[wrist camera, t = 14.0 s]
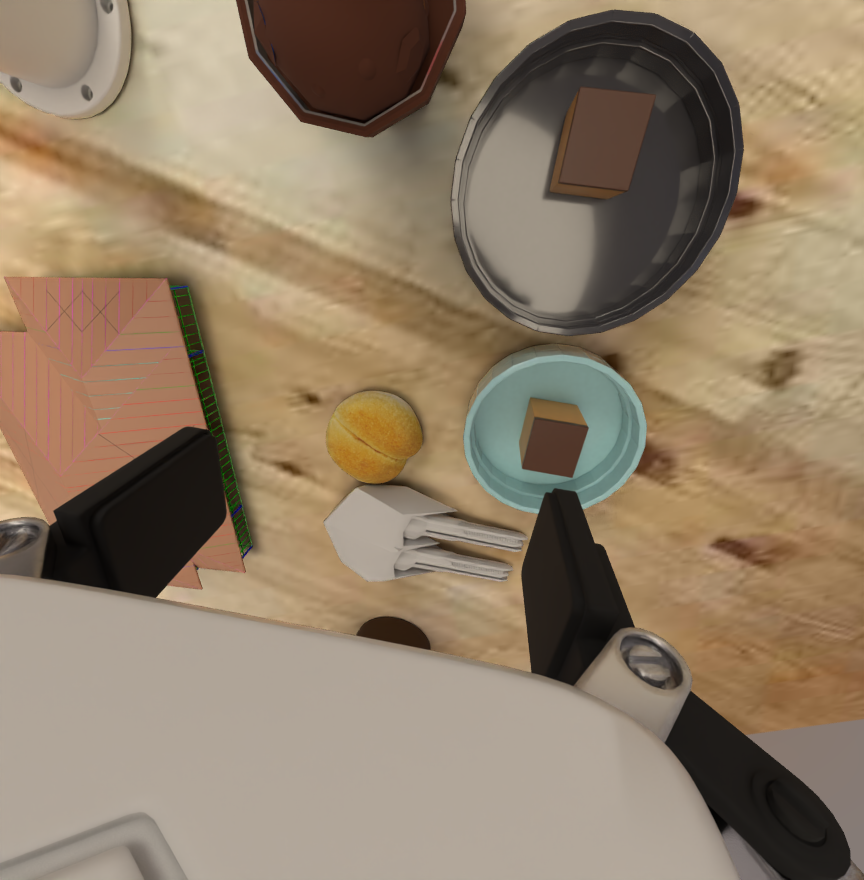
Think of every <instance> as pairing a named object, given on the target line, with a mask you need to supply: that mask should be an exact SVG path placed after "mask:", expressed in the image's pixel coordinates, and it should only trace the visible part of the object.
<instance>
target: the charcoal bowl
mask: <svg viewBox="0 0 864 880" xmlns="http://www.w3.org/2000/svg"><path fill="white" fill-rule="evenodd" d="M580 87H590V88H600V89H609V90H618V91H628V92H637V93H646V94H655V95H656V98H655V102H654V105H653V108H652V112H651V115H650V119H649V122H648V125H647V129H646V132H645V136H644V139H643V143H642V146H641V149H640V153H639V156H638V160H637V163H636V167H635V170H634V173H633V177H632V180H631V184H630V187H629V190H628V191H627V192H624V193H621V194H619V195H617V196H614V197H612V198H609V199H601V198H593V197H585V196H577V195H569V194H561V193H553V192H550V186H551V181H552V177H553V172H554V168H555V163H556V158H557V154H558V149H559V144H560V140H561V135H562V131H563V126H564V121H565V117H566V113H567V111H568V109H569V107H570V105H571V104H572V102H573V100H574V98H575V96H576V94H577V92H578V90H579V88H580ZM743 148H744V145H743V135H742V125H741V116H740V106H739V102H738V100H737V97H736V95H735V92H734V90H733V88H732V85H731V83H730V81H729V78H728V76H727V73H726V71H725V69H724V66H723V64H722V62H721V61H720V60H719V59H718V58H717V57H716V56H715V55H714V54H713V52H712V51H711V50H710V49H709V48H708V47H707V46H706V45H705V44H704V43H703V41H702V40H701V39H700V38H699V37H698V36H697V35H696V34H695V33H693V32H692V31H690V30H688V29H686V28H684V27H682V26H680V25H678V24H676V23H674V22H672V21H670V20H668V19H666V18H664V17H662V16H660V15H658V14H655V13H645V12H634V11H624V10H609V11H605V12H601V13H597V14H593V15H589V16H585V17H581V18H577V19H573V20H570V21H567V22H565V23H564V24H562V25H560V26H559V27H557V28H555V29H553V30H552V31H550V32H548V33H547V34H545V35H543V36H542V37H540V38H538V39H536V40H535V41H533V42H531V43H530V44H529V45H527V46H526V47H525V48H524V49H523V50H522V51H521V52H520V53H519V54H518V55H517V56H516V57H515V58H514V59H513V60H512V61H511V62H510V63H509V64H508V65H507V66H506V67H505V68H504V69H503V70H502V71H501V72H500V73H499V74H498V75H497V76H496V78H495V79H494V80H493V82H492V83H491V85H490V86H489V88H488V90H487V91H486V93H485V94H484V96H483V98H482V99H481V101H480V102H479V104H478V106H477V107H476V109H475V110H474V112H473V114H472V115H471V118H470V120H469V122H468V125H467V128H466V131H465V134H464V136H463V139H462V142H461V145H460V148H459V151H458V153H457V156H456V160H455V167H454V175H453V184H452V192H451V210H452V220H453V230H454V238H455V241H456V244H457V247H458V250H459V253H460V255H461V258H462V261H463V264H464V267H465V269H466V271H467V273H468V275H469V276H470V278H471V279H472V281H473V282H474V283H475V285H476V286H477V288H478V289H479V291H480V292H481V294H482V295H483V297H484V298H485V299H486V300H487V301H488V302H489V303H491V304H492V305H493V306H494V307H495V308H497V309H498V310H499V311H500V312H501V313H503V314H504V315H505V316H506V317H507V318H509V319H511V320H513V321H515V322H517V323H519V324H522V325H524V326H526V327H528V328H531V329H533V330H535V331H538V332H544V333H551V334H558V335H564V336H574V335H583V334H593V333H601V332H604V331H607V330H610V329H613V328H616V327H618V326H621V325H624V324H627V323H630V322H632V321H635V320H636V319H638V318H640V317H641V316H643V315H644V314H646V313H647V312H649V311H651V310H652V309H654V308H655V307H657V306H659V305H660V304H662V303H663V302H665V301H666V300H667V299H669V298H670V297H671V296H672V295H673V294H674V293H675V292H676V291H677V290H678V289H679V288H680V287H681V286H682V285H683V284H684V283H685V282H686V281H687V280H688V279H689V278H690V277H691V276H692V275H693V274H694V273H695V272H696V271H697V270H698V268H699V267H700V265H701V264H702V262H703V261H704V259H705V258H706V256H707V255H708V253H709V252H710V250H711V249H712V247H713V246H714V244H715V243H716V241H717V240H718V238H719V237H720V235H721V233H722V230H723V228H724V225H725V222H726V220H727V217H728V215H729V212H730V210H731V207H732V205H733V202H734V200H735V197H736V195H737V194H736V193H737V190H738V184H739V177H740V171H741V164H742V158H743V151H744V149H743Z"/></svg>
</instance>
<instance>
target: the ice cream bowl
mask: <svg viewBox="0 0 864 880" xmlns="http://www.w3.org/2000/svg"><path fill="white" fill-rule="evenodd" d="M236 2H237V7H238V11H239V16H240V20H241V25H242V29H243V34H244V38H245V43H246V47H247V52H248V56H249V59H250V60H251V61H252V62H253V64H254V65H255V66H256V67H257V69H258V70H259V71H260V72H261V74H262V75H263V76H264V77H265V78H266V80H267V81H268V82H269V83H270V85H271V86H272V87H273V88H274V89H275V91H276V92H277V93H278V94H279V96H280V97H281V98H282V99H283V100H284V102H285V103H286V104H287V105H288V107H289V108H290V109H291V110H292V111H293V113H294V114H295V115H296V116H297V118H298V119H299V120H300V121H301V122H304V123H308V124H313V125H317V126H321V127H325V128H329V129H334V130H338V131H342V132H346V133H351V134H355V135H359V136H363V137H374V136H376V135H377V134H379V133H381V132H382V131H384V130H386V129H387V128H389V127H391V126H392V125H394V124H396V123H397V122H399V121H400V120H402V119H404V118H405V117H407V116H409V115H410V114H412V113H414V112H415V111H417V110H419V109H420V108H422V107H423V106H425V105H427V104H428V103H429V101H430V99H431V96H432V94H433V92H434V90H435V87H436V85H437V83H438V81H439V78H440V76H441V74H442V72H443V69H444V67H445V65H446V63H447V60H448V58H449V56H450V54H451V51H452V49H453V47H454V45H455V42H456V40H457V38H458V36H459V33H460V31H461V29H462V26H463V23H464V19H465V15H466V1H465V0H236Z"/></svg>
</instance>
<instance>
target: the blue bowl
mask: <svg viewBox="0 0 864 880" xmlns="http://www.w3.org/2000/svg"><path fill="white" fill-rule="evenodd" d="M530 397H531V398H537V399H543V400H549V401H555V402H562V403H568V404H574V405H577V406H578V408H579V410H580V412H581V413H582V415H583V417H584V419H585V421H586V423H587V426H588V427H589V429H588V432H587V435H586V438H585V441H584V445H583V448H582V451H581V454H580V457H579V460H578V463H577V466H576V469H575V472H574V475H573V478H569V477H564V476H558V475H552V474H547V473H541V472H536V471H530V470H524V469H522V465H521V457H520V448H519V440H520V436H521V432H522V428H523V424H524V420H525V416H526V412H527V408H528V404H529V399H530ZM646 430H647V424H646V419H645V415H644V411H643V406H642V403H641V401H640V400H639V398H638V397H637V395H636V393H635V392H634V390H633V388H632V387H631V385H630V384H629V383H628V382H627V381H626V380H625V379H624V378H623V377H622V376H621V375H620V373H619V372H618V371H617V370H616V369H614V368H613V367H612V366H611V365H610V364H609V363H608V362H606V361H605V360H604V359H603V358H602V357H600V356H599V355H596V354H594V353H592V352H590V351H587V350H585V349H583V348H581V347H576V346H570V345H563V344H547V345H537V346H532V347H529V348H526V349H523V350H521V351H518V352H515V353H512V354H510V355H509V356H507V357H506V358H504V359H503V360H501V361H500V362H498V363H497V364H496V365H494V366H493V367H492V368H491V369H490V370H489V371H488V372H487V373H486V375H485V376H484V377H483V378H482V379H481V380H480V382H479V383H478V385H477V387H476V389H475V391H474V393H473V395H472V397H471V399H470V401H469V406H468V412H467V418H466V424H465V429H464V435H463V440H464V449H465V457H466V459H467V462H468V464H469V467H470V469H471V471H472V474H473V475H474V477H475V478H476V479H477V480H478V482H479V483H480V484H481V485H482V487H483V488H484V489H485V490H486V491H487V492H488V493H490V494H491V495H492V496H494V497H495V498H496V499H498V500H499V501H500V502H502V503H504V504H506V505H509V506H511V507H513V508H516V509H518V510H521V511H525V512H531V513H536V514H538V513H539V510H540V507H541V504H542V500H543V497H544V494H545V493H546V492H550V493H552V491H553V489H554V488H558V489H564V490H570V491H575V492H576V493H577V495H578V498H579V501H580V503H581V506H582V509H585V508H588V507H590V506H592V505H594V504H596V503H598V502H600V501H602V500H605V499H606V498H607V497H609V496H610V495H611V494H612V493H614V492H615V491H616V490H617V489H619V488H620V487H621V486H622V485H623V484H624V483H625V482H626V481H627V479H628V478H629V477H630V475H631V474H632V473H633V471H634V470H635V469H636V467H637V465H638V463H639V460H640V458H641V455H642V453H643V450H644V448H645V441H646Z"/></svg>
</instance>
